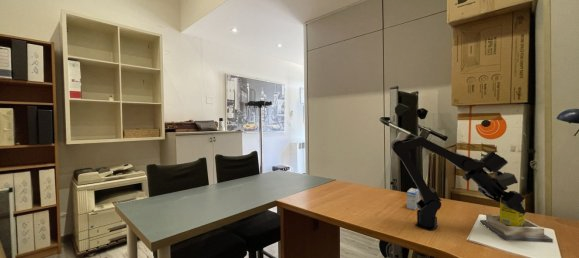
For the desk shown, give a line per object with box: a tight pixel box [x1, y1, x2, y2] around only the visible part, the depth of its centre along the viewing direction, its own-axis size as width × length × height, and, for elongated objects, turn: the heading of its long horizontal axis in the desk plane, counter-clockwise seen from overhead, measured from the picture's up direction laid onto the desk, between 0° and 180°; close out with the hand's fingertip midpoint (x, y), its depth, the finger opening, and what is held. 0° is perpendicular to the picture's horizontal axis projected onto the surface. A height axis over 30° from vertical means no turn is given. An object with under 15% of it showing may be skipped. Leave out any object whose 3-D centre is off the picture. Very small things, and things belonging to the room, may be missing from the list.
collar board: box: [479, 214, 554, 243], centre depth 94 cm, size 15×15×4 cm
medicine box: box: [406, 187, 421, 211], centre depth 124 cm, size 8×4×9 cm, turn 141°
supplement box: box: [499, 197, 526, 227], centre depth 94 cm, size 6×6×11 cm
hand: (516, 208), depth 94 cm, fingers closed on supplement box, 8 cm apart
